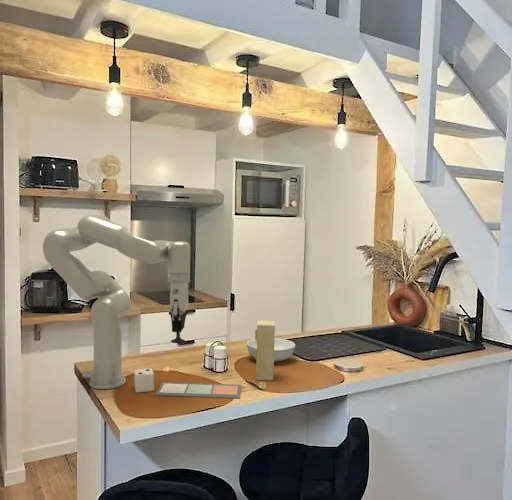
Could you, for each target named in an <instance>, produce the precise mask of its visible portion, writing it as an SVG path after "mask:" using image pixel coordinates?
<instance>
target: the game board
mask: <svg viewBox="0 0 512 500" xmlns="http://www.w3.org/2000/svg"><path fill="white" fill-rule="evenodd" d="M241 390H242V384H233V383H232V384H230V383H225V384H224V383H199V382H197V383H196V382H173V381H171V382H166V381H162V382H161V384H160V385H159V387H158V389H157V390H156V392H155V394H154V396H155V397H181V398H182V397H183V398H185V397H186V398H187V397H188V398H189V397H190V398H211V399H212V398H215V399H216V398H217V399H240V398H241Z"/></svg>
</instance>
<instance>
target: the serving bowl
mask: <svg viewBox="0 0 512 500" xmlns="http://www.w3.org/2000/svg"><path fill="white" fill-rule="evenodd" d="M246 348H247V349H246V350H247V351H248V353H249V354H250V356H252V357H253V358H255V350H257V340H255V338H252V339H249V340H247V342H246ZM295 349H296V344H295V342H293V341H291V340H288V339H284V338H278V337H275V339H274V363H275V362H280V361H285V360H287V359H289V358H290V357H291V356H292V355H293V354H294V352H295Z"/></svg>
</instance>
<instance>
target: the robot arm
mask: <svg viewBox="0 0 512 500" xmlns="http://www.w3.org/2000/svg"><path fill="white" fill-rule="evenodd" d="M96 243H97V244H100V245H102V246H105V247H108V248H111V249H114V250H117V252H119V253H121V254H122V255H124V256H126V257H128V258H129V259H133V260H136V261H139V262H142V263H145V264H149V265H153V264H156V263H161V262H166V261H167V283H169V284H170V291H169V310H170V311H171V312H173V315H172V321H171V331H172V333H176V332H180V333H181V332H182V331H183V329H182V320H181V311H182V312H185V311H186V310H187V309H188V308H189V285H188V283H191V278H190V277H191V276H190V275H191V245H190V243H189V242H188V241H170V240H169V241H168V240H162V239H157V240H148V239H144V238H141V237H139V236H136V235H134V234H132V233H131V232H129V230H128V228H127V227H126V226H124V225H121V224H118V223H115V222H113V221H112V220H111V219H110V218H109V217H107V216H105V215H102V214H101V215H99V214H95V215H94V214H89V215H86V216H83V217H81V219H80V220H79V221H78V223H77V226H76V227H73V228H72V227H71V228H69V227H68V228H57V229H53V230H51V231H50V232H49V233H48V234H46V235H45V237H44V240H43V242H42V252H43V257H44V258H45V260H46V262H47V264H48V265H50V267H51V268H52V269H53V270H54V271H55V272H56V273H57V274H58V275H59V276H60V277H61V279H63V280H64V282H65V283H66V285H68V286H69V287H70V288H71V289H72V290H73V292H74V293H75V294H76V295H77V296H78V298H80V299H82V300H85V301H89V300H93V299H96V298H97V299H96V300H95V301H94V302H93V304H92V306H91V310H90V314H91V322H92V327H93V328H92V329H93V331H92V332H93V333H92V334H93V369H92V370H82V372H81V374H82V377H83V378H84V379H87V378H88V379H89V380H88V385H89V387H91V388H94V389H97V390H98V389H99V390H107V389H108V390H110V389H116V388H119V387H122V386H123V385H125V384H126V381H127V379H126V377H125V376H124V375H122V350H123V349H122V345H123V344H122V340H123V339H122V336H123V335H122V334H123V333H122V328H121V323H120V319H122V318H124V317H125V316H127V315H128V314H130V311H131V310H132V306H133V305H132V304H133V303H132V300H131V298H130V296H129V295H128V293H127V291H125V290H124V289H123V288H122V286H120V285H119V283H118V282H117V281H116V280H115V279H114V277H112V276H111V275H110V274H109V273H107V272H105V271H103V270H93V271H91V270H90V269H89V268H88V267H86V265H85V264H84V263H83V262H82V261H81V260H80V259H79V258H77V256H74V255H73V254H72V253H71V252H77V251H78V252H79V251H81V250H84V249H85V248H88V247H91V246H92V245H94V244H96ZM177 310H180V311H177ZM170 311H169V312H170ZM186 312H187V311H186ZM177 313H179V314H177Z"/></svg>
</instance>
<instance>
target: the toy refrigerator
mask: <svg viewBox="0 0 512 500" xmlns="http://www.w3.org/2000/svg"><path fill="white" fill-rule="evenodd" d="M254 330H255V337H254V339H255V340H257V350H255V357H254V359H255V361H256V365H255V367H256V368H255V370H256V371H255V380H256V381H274V374H275V373H274V369H275V364H274V363H275V362H274V339H275V338H276V336H275V334H276V333H275V330H276V324H275V320H257V324H256V329H254Z"/></svg>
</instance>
